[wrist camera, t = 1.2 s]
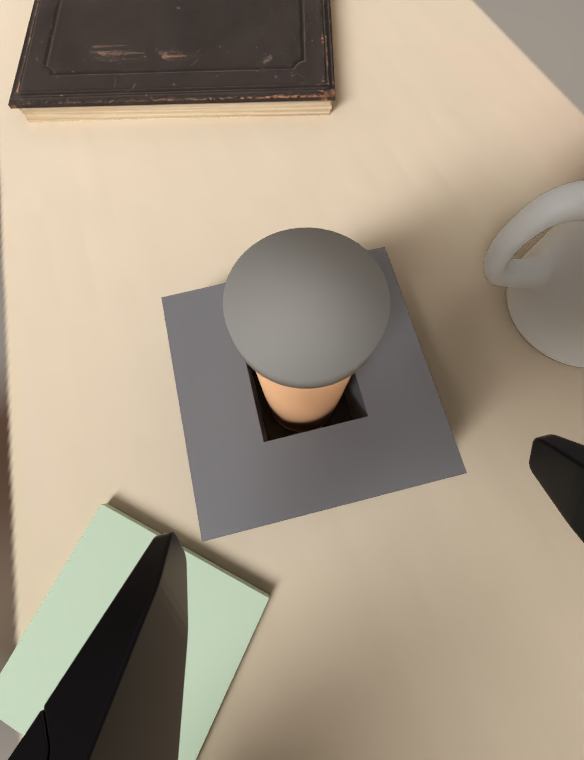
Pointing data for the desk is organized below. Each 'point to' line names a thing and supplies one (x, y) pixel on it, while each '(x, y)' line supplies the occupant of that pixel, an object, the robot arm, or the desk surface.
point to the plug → (305, 319)
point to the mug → (545, 272)
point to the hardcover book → (175, 60)
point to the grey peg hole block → (308, 449)
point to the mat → (92, 598)
